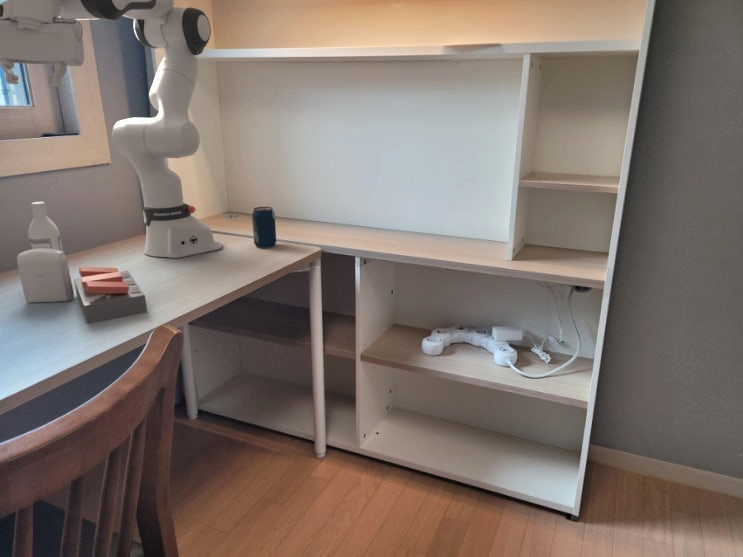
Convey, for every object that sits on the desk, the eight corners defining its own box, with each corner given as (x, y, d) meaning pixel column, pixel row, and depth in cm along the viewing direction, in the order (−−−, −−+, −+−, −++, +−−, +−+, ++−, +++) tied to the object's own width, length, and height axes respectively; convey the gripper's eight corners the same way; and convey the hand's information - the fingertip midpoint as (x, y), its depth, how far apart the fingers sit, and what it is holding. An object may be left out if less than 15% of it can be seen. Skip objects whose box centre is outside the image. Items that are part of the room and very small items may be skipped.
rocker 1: (116, 273, 132) (116, 268, 132) (119, 277, 129) (119, 272, 129) (79, 272, 128) (79, 266, 127) (81, 276, 125) (81, 271, 124)
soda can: (279, 243, 175) (278, 206, 171) (270, 249, 168) (268, 211, 164) (260, 242, 176) (257, 205, 172) (250, 248, 170) (247, 210, 166)
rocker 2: (119, 277, 127) (119, 271, 127) (122, 281, 124) (121, 275, 124) (81, 283, 123) (80, 277, 123) (83, 288, 120) (82, 282, 120)
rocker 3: (125, 288, 123) (125, 282, 122) (128, 293, 120) (128, 287, 119) (85, 287, 118) (85, 281, 118) (87, 292, 115) (88, 286, 115)
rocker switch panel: (130, 285, 137) (127, 268, 135) (147, 311, 121) (144, 292, 119) (76, 294, 131) (73, 276, 129) (87, 323, 115) (83, 303, 113)
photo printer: (22, 304, 125) (11, 252, 121) (32, 297, 129) (21, 246, 125) (69, 302, 126) (59, 251, 122) (77, 296, 130) (68, 246, 126)
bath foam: (55, 273, 146) (41, 199, 139) (74, 276, 143) (60, 201, 136) (31, 281, 140) (14, 204, 133) (49, 285, 137) (34, 206, 130)
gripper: (92, 25, 115) (89, 91, 116) (1, 20, 117) (-1, 86, 118) (73, 12, 109) (70, 83, 110) (-23, 8, 111) (-24, 77, 112)
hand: (33, 84), depth 114 cm, fingers open, 8 cm apart
